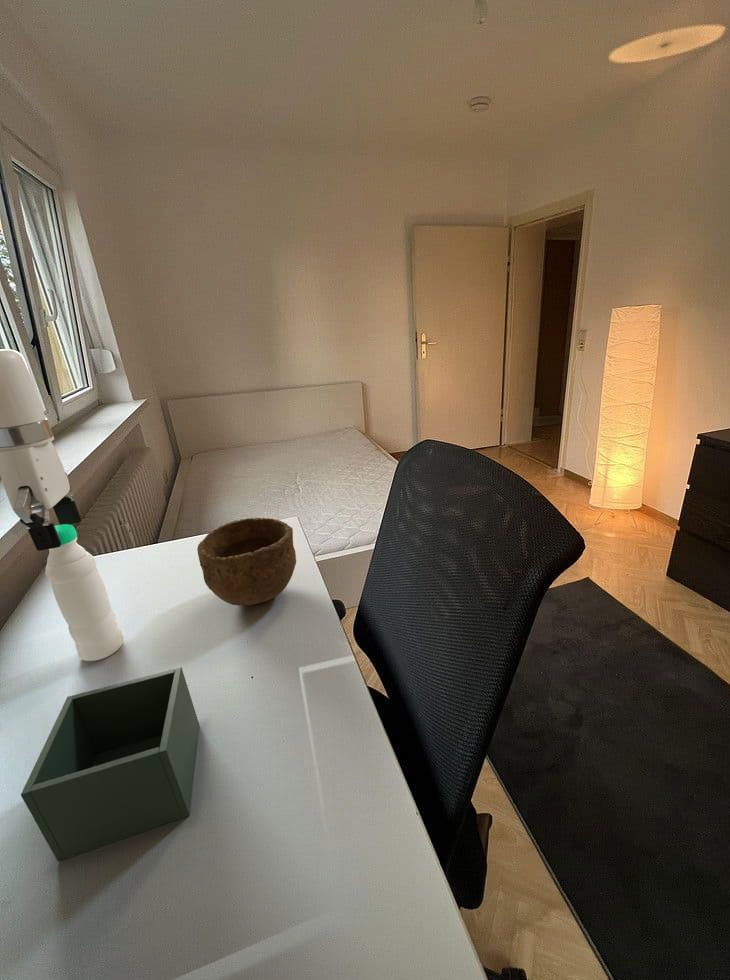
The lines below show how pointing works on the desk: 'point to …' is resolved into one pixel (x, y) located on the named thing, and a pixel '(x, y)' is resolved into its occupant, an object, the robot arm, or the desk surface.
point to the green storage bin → (115, 764)
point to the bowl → (248, 560)
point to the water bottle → (82, 597)
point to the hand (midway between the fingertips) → (61, 535)
